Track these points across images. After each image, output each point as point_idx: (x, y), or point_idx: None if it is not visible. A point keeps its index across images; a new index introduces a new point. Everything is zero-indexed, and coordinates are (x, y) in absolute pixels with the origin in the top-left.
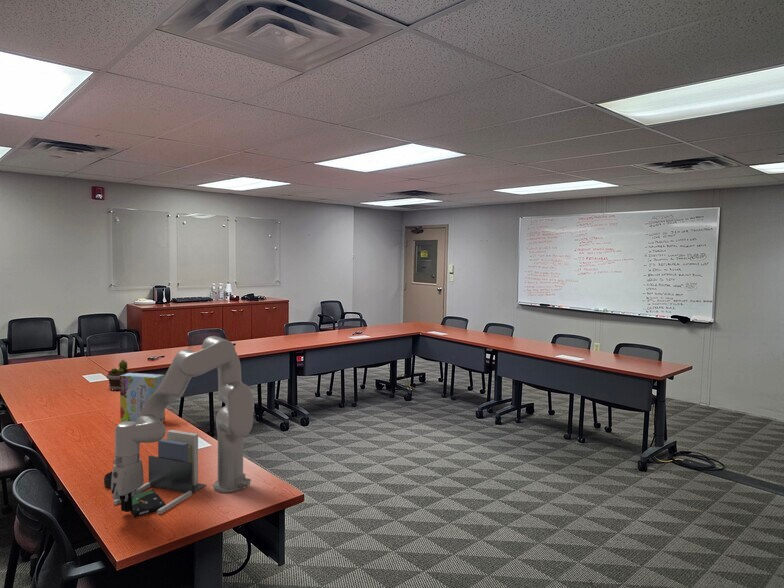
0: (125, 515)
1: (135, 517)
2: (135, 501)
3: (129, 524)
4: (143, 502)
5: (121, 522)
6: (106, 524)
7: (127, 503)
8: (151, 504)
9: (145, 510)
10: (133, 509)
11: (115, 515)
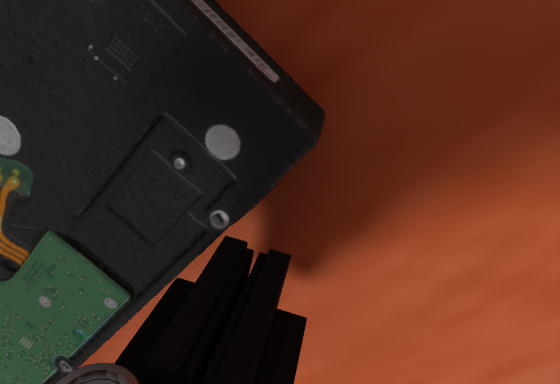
0: None
1: (322, 114)
2: (36, 288)
3: (530, 92)
4: (14, 180)
5: (459, 228)
6: (504, 359)
7: (255, 364)
8: (6, 15)
9: (197, 8)
10: (217, 218)
11: None
